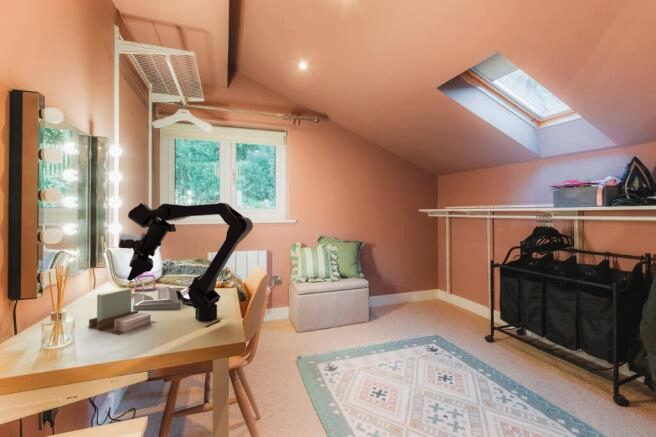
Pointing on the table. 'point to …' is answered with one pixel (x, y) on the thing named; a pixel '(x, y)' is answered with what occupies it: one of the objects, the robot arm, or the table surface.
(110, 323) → the rack
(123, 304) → the green panel
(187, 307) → the table surface
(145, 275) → the toy chair
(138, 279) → the bracelet
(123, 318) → the offcut upper
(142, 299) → the emblem
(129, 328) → the offcut lower
